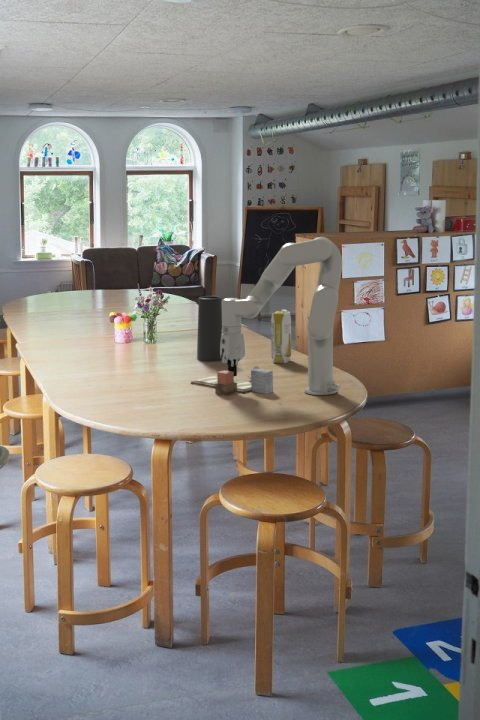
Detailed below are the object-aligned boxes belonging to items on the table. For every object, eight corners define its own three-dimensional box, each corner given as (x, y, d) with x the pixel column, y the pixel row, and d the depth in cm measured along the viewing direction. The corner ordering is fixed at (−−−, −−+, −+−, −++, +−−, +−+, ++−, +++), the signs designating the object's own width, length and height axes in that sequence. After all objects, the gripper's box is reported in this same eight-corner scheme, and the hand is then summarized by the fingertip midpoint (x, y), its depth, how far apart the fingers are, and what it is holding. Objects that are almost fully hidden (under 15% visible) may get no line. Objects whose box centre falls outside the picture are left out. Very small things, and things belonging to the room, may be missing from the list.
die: (233, 382, 346) (233, 371, 345) (225, 384, 343) (225, 373, 342) (225, 381, 349) (225, 370, 348) (217, 383, 346) (217, 372, 345)
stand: (237, 392, 347) (236, 382, 346) (226, 395, 343) (226, 385, 342) (225, 390, 351) (225, 380, 350) (215, 393, 346) (215, 383, 346)
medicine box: (273, 392, 346) (273, 370, 345) (266, 394, 343) (265, 372, 341) (258, 389, 352) (258, 368, 350) (251, 391, 348) (250, 370, 347)
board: (265, 387, 355) (265, 384, 354) (243, 393, 345) (243, 390, 345) (212, 378, 374) (212, 375, 374) (191, 383, 364) (191, 380, 364)
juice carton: (287, 364, 400) (286, 311, 395) (270, 363, 402) (269, 310, 398) (292, 360, 409) (292, 308, 404) (276, 359, 411) (275, 308, 406)
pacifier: (267, 382, 365) (263, 379, 370) (267, 367, 363) (263, 364, 369) (250, 384, 363) (246, 380, 368) (250, 369, 361) (246, 366, 367)
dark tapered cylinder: (231, 358, 414) (230, 297, 408) (207, 362, 406) (205, 300, 401) (215, 354, 425) (214, 294, 419) (191, 358, 418) (189, 297, 412)
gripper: (225, 333, 337) (226, 380, 341) (251, 328, 348) (252, 373, 351) (211, 331, 342) (212, 377, 346) (237, 326, 353) (238, 371, 356)
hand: (232, 375), depth 348 cm, fingers closed
